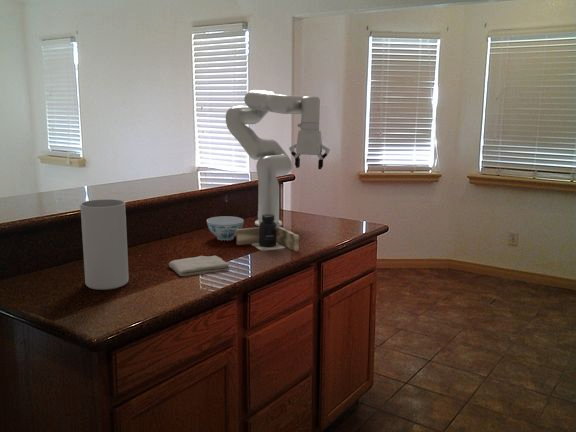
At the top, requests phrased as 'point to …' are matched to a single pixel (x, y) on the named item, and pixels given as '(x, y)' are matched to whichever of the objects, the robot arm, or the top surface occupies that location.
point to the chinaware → (225, 226)
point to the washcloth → (198, 265)
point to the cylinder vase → (104, 243)
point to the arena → (282, 237)
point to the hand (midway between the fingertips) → (308, 168)
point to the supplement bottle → (267, 231)
